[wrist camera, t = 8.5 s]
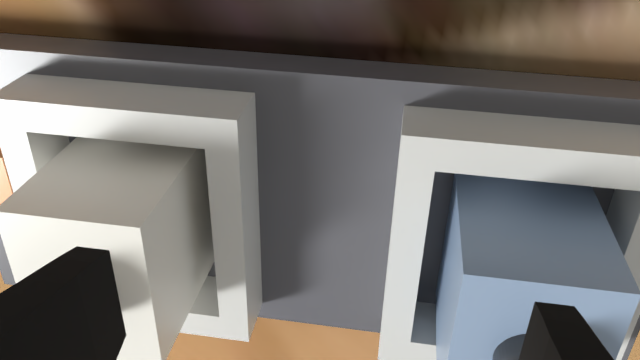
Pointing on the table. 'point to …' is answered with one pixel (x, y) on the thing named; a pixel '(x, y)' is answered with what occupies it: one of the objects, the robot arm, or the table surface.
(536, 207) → the blue plug
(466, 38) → the table surface
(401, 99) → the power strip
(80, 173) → the cream plug
